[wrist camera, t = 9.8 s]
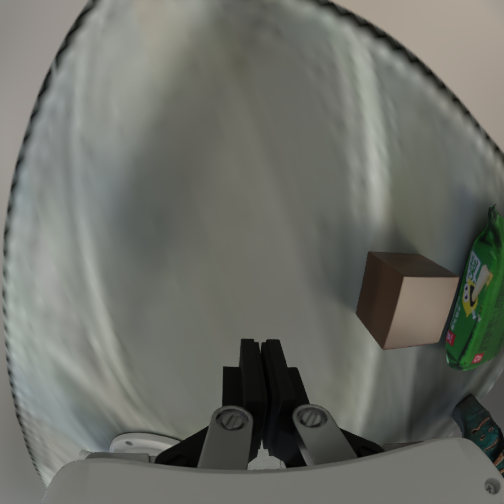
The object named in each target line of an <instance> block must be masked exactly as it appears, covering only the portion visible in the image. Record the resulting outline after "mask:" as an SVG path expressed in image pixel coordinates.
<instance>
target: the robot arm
mask: <svg viewBox="0 0 504 504" xmlns="http://www.w3.org/2000/svg"><path fill="white" fill-rule="evenodd" d="M261 441H262V442H263V448H264V449H268V452H269V456H275V457H276V458H278V459H280V465H281V468H282V469H264V470H247V468H248V463H249V462H251V461H252V460H253V459H254V458H256V457H257V454H258V449H260V446H261ZM41 504H504V478H503V477H502V475H501V474H500V472H499V471H498V470H497V468H496V467H495V466H494V464H493V463H492V462H491V460H490V459H489V458H488V457H487V455H486V454H485V453H484V452H483V451H482V450H481V449H480V448H479V447H478V446H477V445H476V444H475V443H473V442H472V441H470V440H468V439H465V438H457V437H446V438H439V439H433V440H428V441H419V442H409V443H397V444H384V446H383V447H380V446H379V445H378V444H376V443H374V442H371V441H369V440H366V439H364V438H362V437H359V436H357V435H355V434H352V433H350V432H348V431H345V430H343V429H341V428H339V427H338V425H337V424H336V422H335V421H334V419H333V418H332V416H331V414H330V413H329V412H328V411H327V410H326V409H325V408H323V407H321V406H319V405H314V404H310V403H309V400H308V397H307V394H306V391H305V388H304V385H303V382H302V380H301V377H300V374H299V371H298V369H297V367H287V364H286V360H285V357H284V354H283V350H282V347H281V343H280V340H279V339H267V340H266V342H262V344H261V353H260V349H259V343H258V342H254V339H241V346H240V361H239V367H226V366H223V394H222V407H221V408H219V409H217V410H216V411H215V412H214V413H213V415H212V417H211V421H210V424H209V426H207V427H206V428H204V429H202V430H201V431H199V432H197V433H196V434H194V435H192V436H190V437H188V438H187V439H185V440H183V441H181V442H180V441H177V440H175V439H171V438H168V437H164V436H159V435H155V434H147V433H127V434H122V435H119V436H117V437H116V438H114V439H113V441H112V442H111V445H110V448H109V452H94V453H93V452H89V451H86V450H81V451H80V454H79V460H77V461H73V462H70V463H68V464H66V465H65V466H63V467H62V468H61V469H60V470H59V471H58V472H57V474H56V475H55V476H54V478H53V479H52V481H51V483H50V484H49V486H48V488H47V490H46V492H45V495H44V497H43V499H42V501H41Z"/></svg>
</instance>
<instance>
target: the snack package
mask: <svg viewBox="0 0 504 504" xmlns="http://www.w3.org/2000/svg"><path fill="white" fill-rule="evenodd" d="M494 206H495V205H494ZM494 206H493V207H489V211H488V223H487V226H486V228H485V230H484V231H483V232H482V233H481V234H480V235H479V236H478V237H477V239H476V240H475V242H474V244H473V246H472V248H471V251H470V254H469V257H468V261H467V264H466V268H465V271H464V275H463V278H462V283H461V287H460V291H459V294H458V298H457V301H456V304H455V309H454V313H453V316H452V320H451V323H450V325H449V328H448V332H447V335H446V345H445V348H446V357H447V364H448V365H449V366H450V367H451V368H454V369H456V370H461V371H464V370H470V369H473V368H475V367H477V366H479V365H481V364H483V363H485V362H487V361H489V360H491V359H493V358H494V357H495V356H497V354H498V353H499V352H500V350H501V349H502V347H503V345H504V218H503V217H501V216H500V215H499V214H498V213H497V212H496V210H495V208H494Z"/></svg>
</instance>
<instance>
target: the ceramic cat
mask: <svg viewBox="0 0 504 504" xmlns="http://www.w3.org/2000/svg"><path fill="white" fill-rule="evenodd" d="M454 420H455V421H456V423H457V424H458V425H459V427H460V430H461V432H462V438H465V439H468V440H470V441H472V442H473V443H475V444H476V445H477V446H478V447H479V448H480V449H481V450H482V451H483V452H484V453H485V454H486V455H487V457H488V458H489V459H490V460H491V462H492V463H493V464H494V466H495V467H496V468H497V470H498V471H499V472H500V474H501V475H502V477H503V478H504V437H503V434H502V432H501V429H500V428H499V427H498V425H497V424H496V423H495V422H494V421H493V419H492V417H491V415H490V413H489V411H487V410H486V409H485V408H484V407H483V406H482V405H481V404H480V403H479V402H478V401H477V399H476V398H475V397H474V396H473V395H472V394H471V395H470V396H468V397H467V398H466V399H464V400H463V401H462V402H460V403H459V404H458V405H457V406H456V408H455V411H454Z"/></svg>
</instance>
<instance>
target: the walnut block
mask: <svg viewBox="0 0 504 504" xmlns="http://www.w3.org/2000/svg"><path fill="white" fill-rule="evenodd" d="M458 281H459V276H458V275H456V274H454V273H452V272H451V271H449V270H447V269H445V268H444V267H442V266H440V265H438V264H437V263H435V262H433V261H431V260H429V259H427V258H426V257H424V256H422V255H415V254H399V253H383V252H368V257H367V262H366V268H365V273H364V278H363V283H362V288H361V293H360V297H359V302H358V306H357V311H356V315H357V316H358V318H359V319H360V320H361V322H362V323H363V324H364V326H365V327H366V328H367V330H368V331H369V332H370V334H371V335H372V336H373V338H374V339H375V340H376V342H377V343H378V344H379V346H380V347H381V348H382V349H383V350H386V349H396V348H404V347H412V346H419V345H426V344H432V343H438V342H439V340H440V337H441V334H442V332H443V329H444V326H445V323H446V321H447V318H448V315H449V312H450V309H451V305H452V302H453V299H454V296H455V292H456V289H457V285H458Z"/></svg>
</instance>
